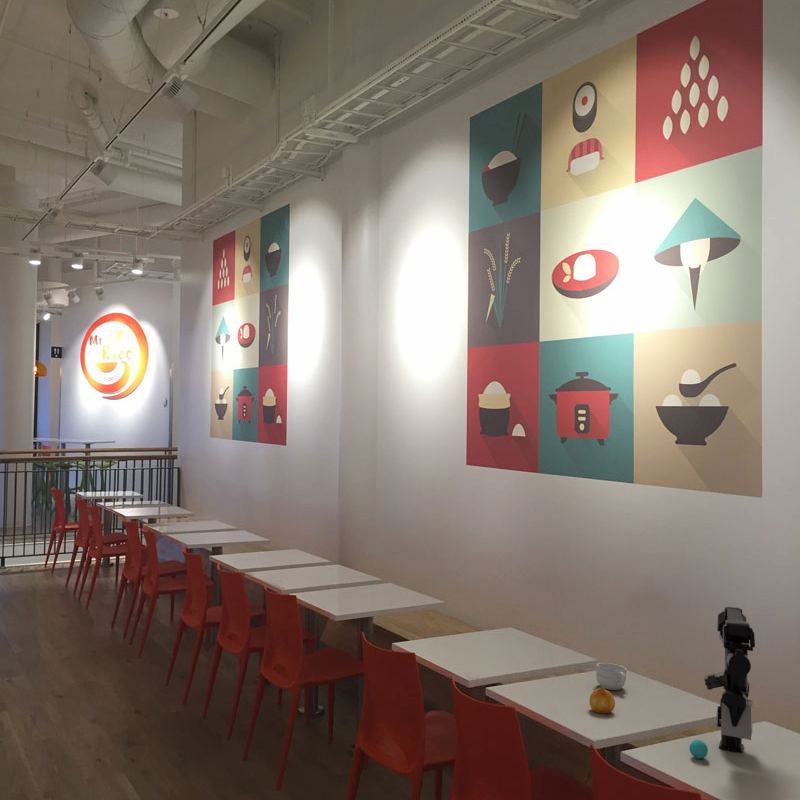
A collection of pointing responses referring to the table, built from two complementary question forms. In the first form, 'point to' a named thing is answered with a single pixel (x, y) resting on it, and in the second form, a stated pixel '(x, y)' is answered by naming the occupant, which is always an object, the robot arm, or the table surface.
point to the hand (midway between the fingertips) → (735, 722)
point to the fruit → (602, 701)
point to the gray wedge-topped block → (743, 725)
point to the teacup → (611, 676)
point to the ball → (698, 749)
